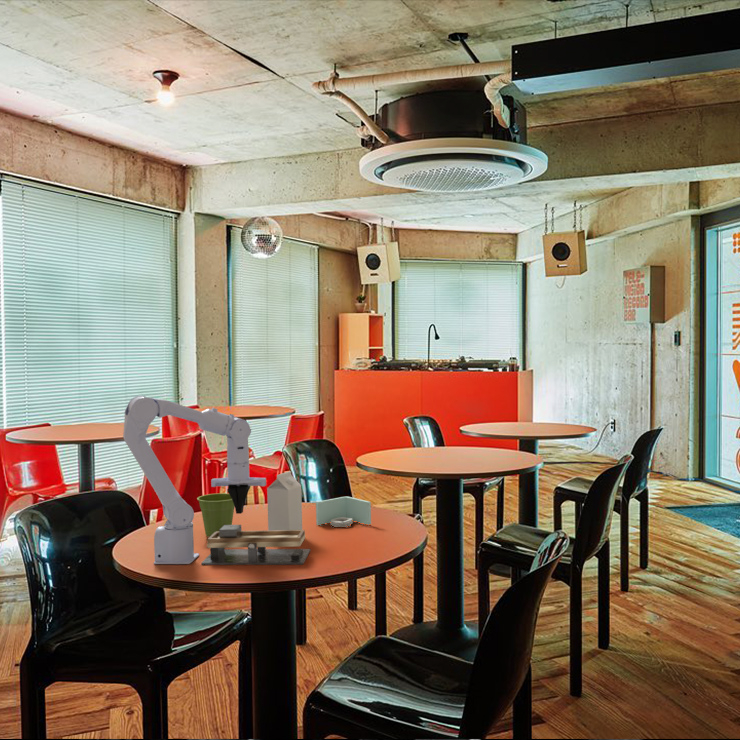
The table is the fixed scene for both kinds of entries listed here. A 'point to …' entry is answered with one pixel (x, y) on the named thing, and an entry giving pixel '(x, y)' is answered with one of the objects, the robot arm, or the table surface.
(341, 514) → the right angle wall
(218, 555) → the beam stand
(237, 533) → the block
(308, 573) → the table surface
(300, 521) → the milk carton
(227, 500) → the plant pot
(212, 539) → the beam
